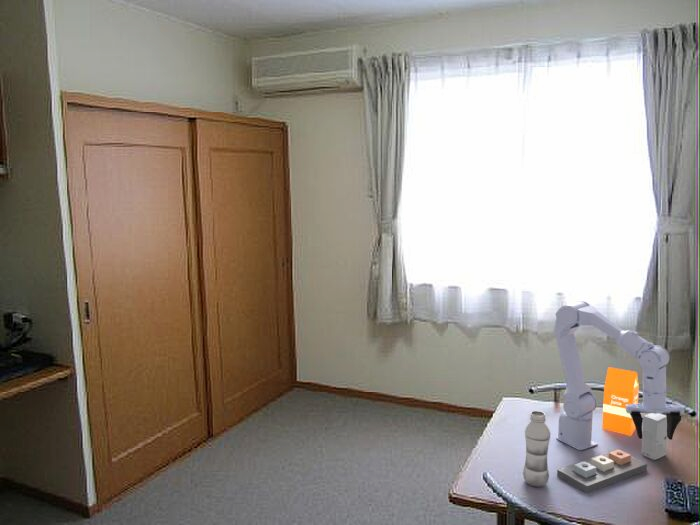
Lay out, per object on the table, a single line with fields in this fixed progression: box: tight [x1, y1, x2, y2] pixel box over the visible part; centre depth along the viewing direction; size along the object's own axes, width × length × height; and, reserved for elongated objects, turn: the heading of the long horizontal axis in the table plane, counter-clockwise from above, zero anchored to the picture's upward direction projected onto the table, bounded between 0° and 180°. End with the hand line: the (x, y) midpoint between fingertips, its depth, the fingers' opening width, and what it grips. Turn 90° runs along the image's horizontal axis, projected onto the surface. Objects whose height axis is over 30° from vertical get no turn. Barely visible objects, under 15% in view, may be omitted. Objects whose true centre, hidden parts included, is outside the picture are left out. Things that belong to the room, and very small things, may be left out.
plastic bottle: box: [522, 410, 551, 488], centre depth 155 cm, size 6×7×20 cm
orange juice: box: [601, 366, 640, 437], centre depth 188 cm, size 8×9×20 cm
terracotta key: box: [608, 449, 632, 465], centre depth 164 cm, size 4×4×2 cm
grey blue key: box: [573, 460, 596, 478], centre depth 158 cm, size 4×4×2 cm
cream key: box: [591, 454, 614, 471], centre depth 161 cm, size 4×4×2 cm
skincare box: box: [641, 413, 668, 461], centre depth 170 cm, size 6×4×12 cm
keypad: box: [556, 448, 648, 494], centre depth 161 cm, size 10×24×2 cm, turn 117°
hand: (654, 437), depth 161 cm, fingers open, 7 cm apart
